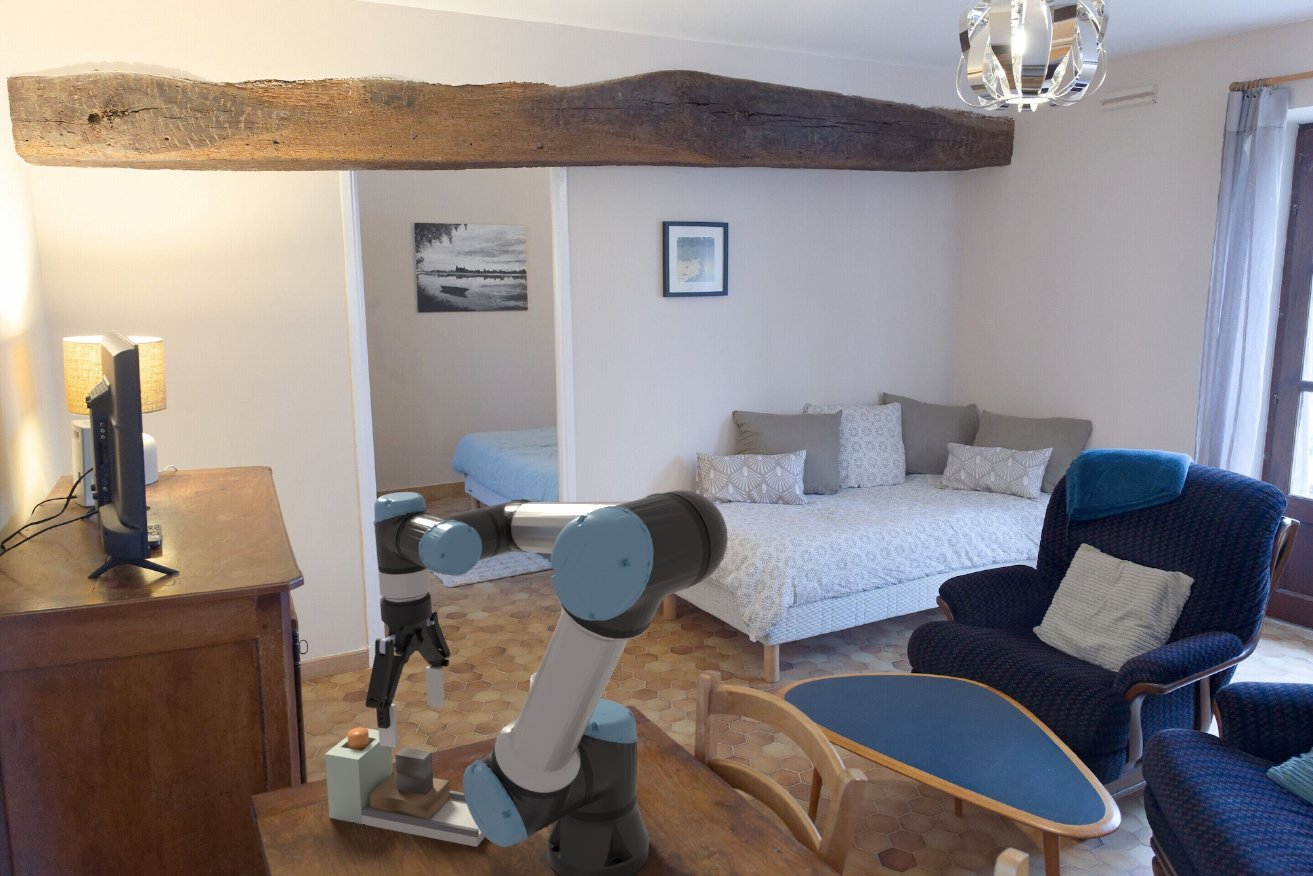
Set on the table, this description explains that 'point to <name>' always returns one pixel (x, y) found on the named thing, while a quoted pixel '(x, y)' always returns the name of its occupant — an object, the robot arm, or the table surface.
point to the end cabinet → (355, 776)
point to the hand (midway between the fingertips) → (413, 724)
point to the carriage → (411, 787)
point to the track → (432, 822)
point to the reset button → (358, 739)
